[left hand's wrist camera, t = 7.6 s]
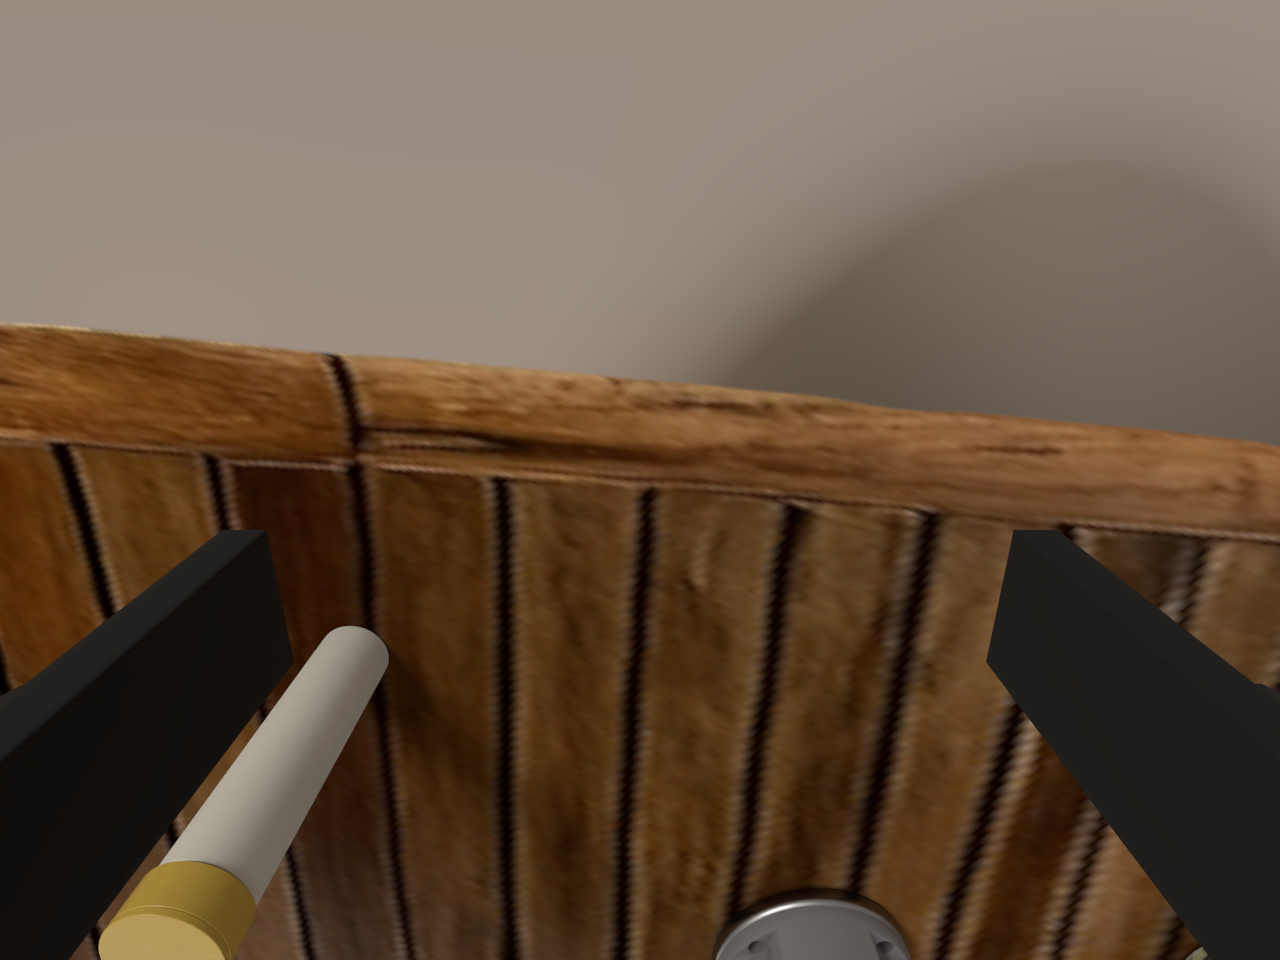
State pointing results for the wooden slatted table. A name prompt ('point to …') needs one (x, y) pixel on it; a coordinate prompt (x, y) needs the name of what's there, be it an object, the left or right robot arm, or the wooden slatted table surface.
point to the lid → (181, 916)
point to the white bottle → (285, 762)
